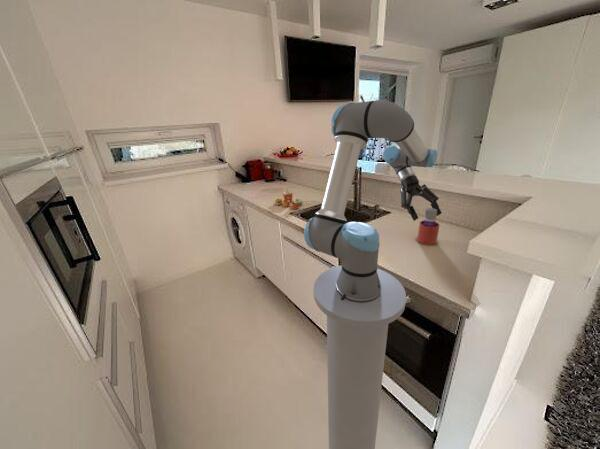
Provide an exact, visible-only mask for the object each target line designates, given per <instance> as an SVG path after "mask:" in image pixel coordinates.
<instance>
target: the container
mask: <svg viewBox="0 0 600 449" xmlns="http://www.w3.org/2000/svg"><path fill="white" fill-rule="evenodd" d="M436 215H437V210H436V209H433V208H432V207H429V208H426V209H425V213H424V219H423V221H424V226H429V227H435V222H437V216H436Z"/></svg>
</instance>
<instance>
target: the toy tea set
mask: <svg viewBox="0 0 600 449" xmlns="http://www.w3.org/2000/svg"><path fill="white" fill-rule="evenodd" d="M293 195H294V194H293V191H292V192H291V191H290V190H289V189H286V190H285V191H284V192H283V193H282V197H283V198H280V197H279V198H274V199H273V200H274V201H273V204H274V205H277V206H279V205H282V206H283V207H284V208H289V207H290V206H291V209H292V210H295V211H297V210H299V208H300V206H302V205H303V200H302V199H301V198H296V199H294V200H293Z"/></svg>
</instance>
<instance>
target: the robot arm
mask: <svg viewBox="0 0 600 449" xmlns="http://www.w3.org/2000/svg"><path fill="white" fill-rule="evenodd" d="M330 127H331V133H332V135H333V140H334V142H335V144H336V147H335V150H334V155H333V159H332V163H331V167H330V171H329V175H328V178H327V183H326V187H325V191H324V194H323V199H322V203H321V206H320V209H319V210H318V211H315V214H314V216H313V217H311V218H309V219H308V221H307V222H306V223H305V226H304V228H303V229H304V231H303V237H304V241H305V243H306V245H307V246H308V247H309V248H310V249H313V250H315V251H316V252H318V253H322V254H325V255H327V256H331V257H332V258H336V259H339V260H341V265H342V269H341V271H340V274H339V277H338V279H337V282H336V289H337V292H338V293H339V294H340V295H341V296H342V297H341V300H344V298H345V299H347V300H350V301H353V302H359V303H365V302H370V301H373V300H375V299H377V298H378V297H379V296H380V293H381V284H380V280H379V277H378V274H377V269H378V261H379V249H380V234H379V232H378V230H377V229H376V228H375V227H374V226H372V225H370V224H369V223H365V222H361V221H348V220H347V218H346V216H345V212H346V208H347V205H348V201H349V196H350V192H351V189H352V185H353V181H354V177H355V174H356V170H357V166H358V163H359V162H358V161H359V158H360V154H361V150H362V149H364V148H366V146H367V144H368V140H369V139H387V140H388V141H390V142H391V143H395V144H396V146H395V145H389V146H387V147H386V148H385V149H384V150H383V152H382V159H383V160H384V162H385V163H386V164H388V165H389V166H390V167H392V169H393V170H394V172H395V174H396V176H397V178H398V180H399V182H400V184H401V186H402V188H401V189H400V190H399V192H400V201H401V202H400V205H401V206H400V207H401V209H404V210H407V212H408V214H409V215H410V216H411V219H412V221H414V222H415V221H417V220H418V219H419V216H418V214H417V212H416V209H415V208H414V206H413V205H412V201H413V198H414V197H421V198H423V199H424V200H426V201H428V202H429V203H430V206H431V208H433V209H436V210H437V215H436V217H438V216H440V215H442V210H441V209H440V205H439V204H438V202H437V201H438V200H439V196H438V195H436V194H435V192H433V191H432V190H431V189H430V188H428V186H427V185H426V184H425V183H423V184H422V185H420V180H419V178H418V177H417V175H416V172H415V171H414V169H413V167H418V168H433V167H434V166H435V165H436V163H437V161H438V151H437V150H436V149H432V148H427V146H426V144H425V143H424V141H423V140H422V139H421V138H422V137H420V135H419V133H418V132H417V131H416V129H415V121H414V119H413V118H412V116H411V114H409V112H408V111H407V110H405V109H404V108H403V107H401V106H400V105H398V104H397V103H395V102H392V101H391V100H390V101H389V100H385V99H376V100H367V101H359V102H354V101H353V102H348V103H345V104H341V105H340V106H338V107H337V108H336V109H335V110H334V112H333V114H332V118H331V122H330Z"/></svg>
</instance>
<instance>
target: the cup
mask: <svg viewBox="0 0 600 449" xmlns="http://www.w3.org/2000/svg"><path fill="white" fill-rule="evenodd" d="M440 225H441V224H440V223H439V222H437V221H436V222H435V227H429V226H424V220H421V221H419V225H418V231H417V239H416V241H417V242H418V243H420V244H422V245H426V246H434V245H436V244H437V243H438V236H439V231H440Z"/></svg>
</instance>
